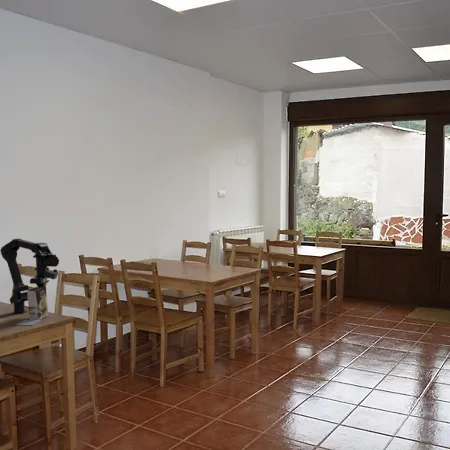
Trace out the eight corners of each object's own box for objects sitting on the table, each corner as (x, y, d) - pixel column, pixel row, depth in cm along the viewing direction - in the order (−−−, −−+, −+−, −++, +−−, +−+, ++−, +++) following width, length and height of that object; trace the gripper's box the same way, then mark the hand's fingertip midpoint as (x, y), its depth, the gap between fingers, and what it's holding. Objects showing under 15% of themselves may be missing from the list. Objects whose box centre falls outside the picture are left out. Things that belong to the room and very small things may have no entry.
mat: (25, 320, 289) (25, 319, 289) (42, 320, 288) (42, 319, 288) (16, 325, 278) (16, 324, 278) (32, 325, 277) (32, 324, 277)
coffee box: (39, 320, 290) (37, 291, 287) (28, 319, 291) (26, 290, 289) (48, 315, 298) (46, 286, 296) (38, 314, 300) (35, 286, 297)
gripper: (48, 268, 289) (50, 297, 290) (62, 263, 307) (63, 290, 308) (28, 268, 290) (30, 297, 291) (43, 263, 308) (44, 290, 309)
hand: (42, 293), depth 300 cm, fingers closed
